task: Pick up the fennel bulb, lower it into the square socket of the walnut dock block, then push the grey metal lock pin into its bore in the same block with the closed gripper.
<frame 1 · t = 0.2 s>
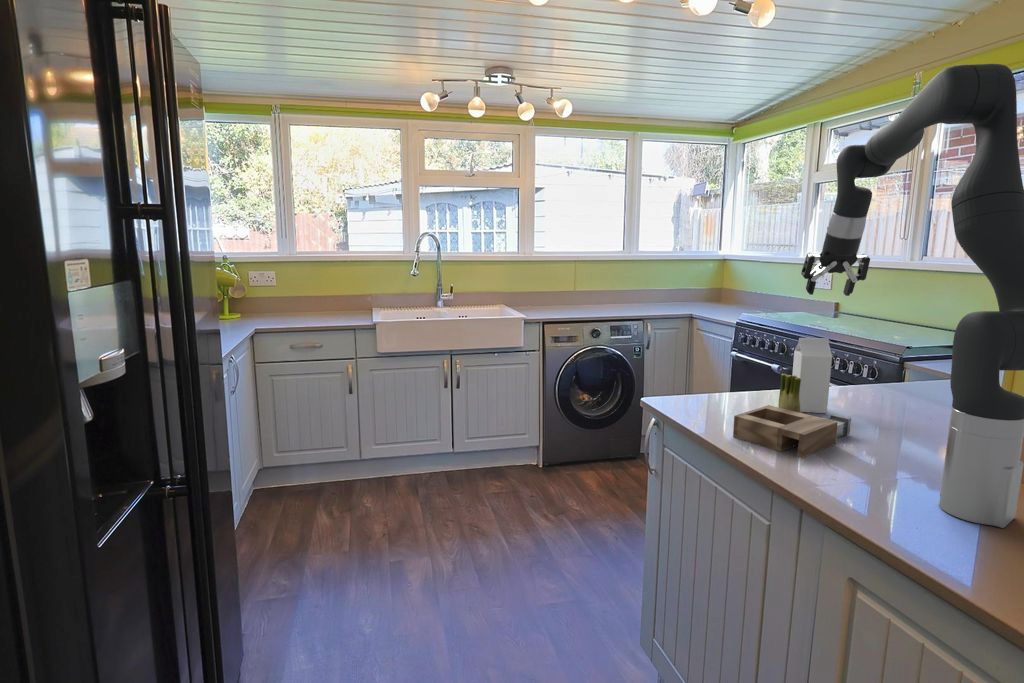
hand: (828, 294, 144), 31 cm above the counter, tool tilted 20°, fingers open, 8 cm apart
dock: (783, 440, 128), on the counter
lock pin: (827, 429, 128), point 2 cm above the counter, slide at 0.0 cm
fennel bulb: (788, 423, 140), on the counter
milk carton: (807, 409, 151), on the counter
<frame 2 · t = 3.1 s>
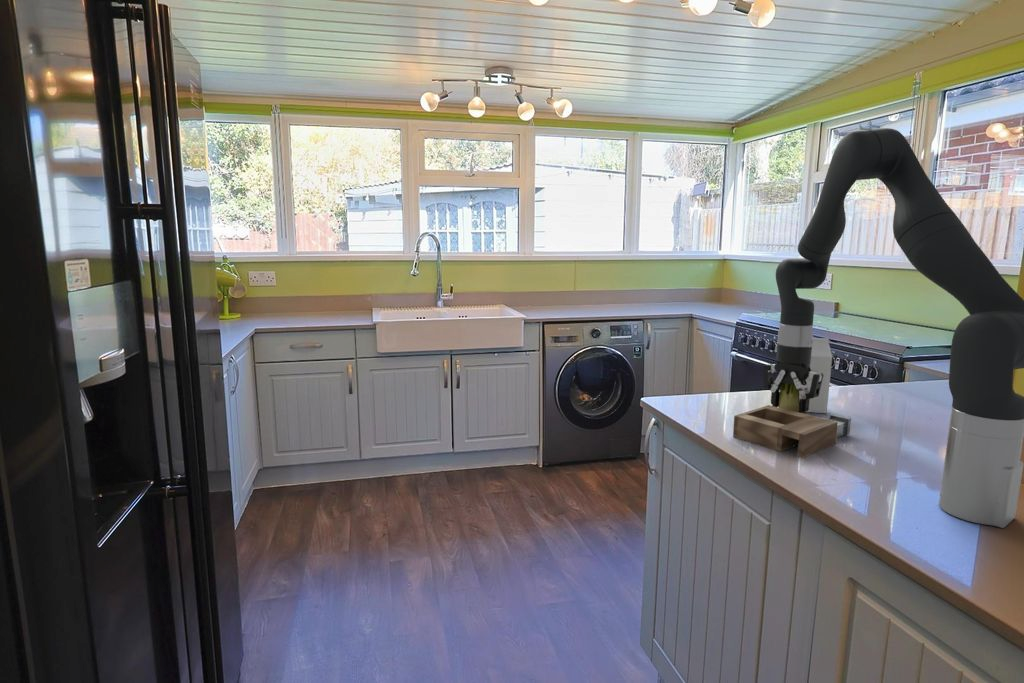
hand: (789, 409, 140), 3 cm above the counter, tool pointing down, fingers closed on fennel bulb, 6 cm apart
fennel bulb: (788, 423, 140), on the counter, touching gripper
everything else where it was.
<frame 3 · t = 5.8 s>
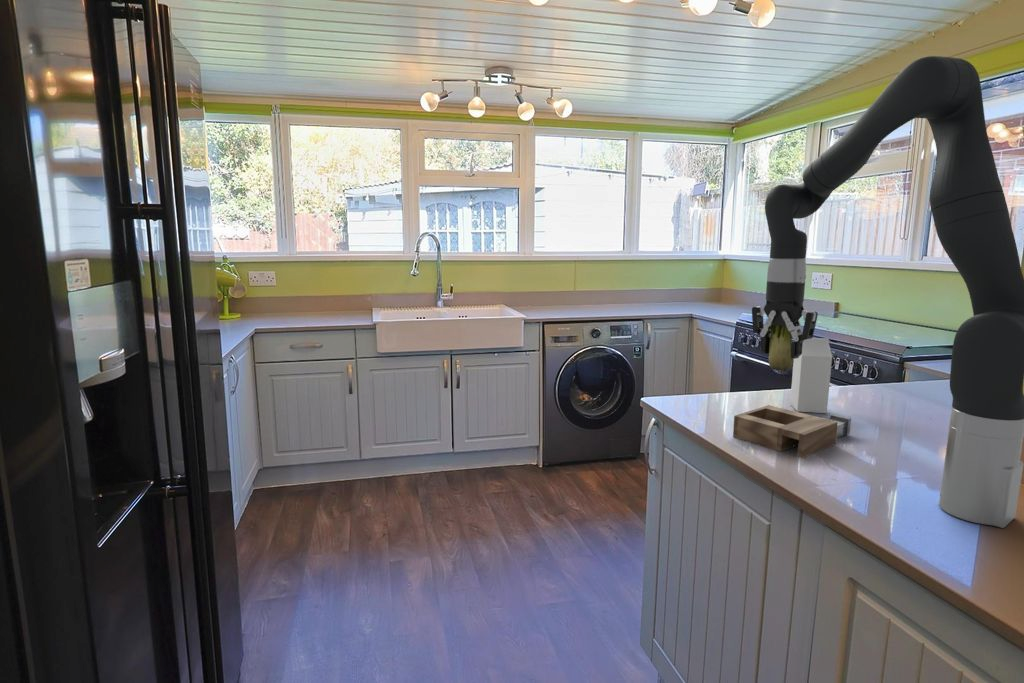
hand: (780, 355, 126), 19 cm above the counter, tool pointing down, fingers closed on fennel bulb, 6 cm apart
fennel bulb: (779, 370, 127), point 16 cm above the counter, touching gripper
everything else where it was.
when the fingers open (6 cm above the counter, at t = 8.7 s): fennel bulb drops 3 cm, resting in dock.
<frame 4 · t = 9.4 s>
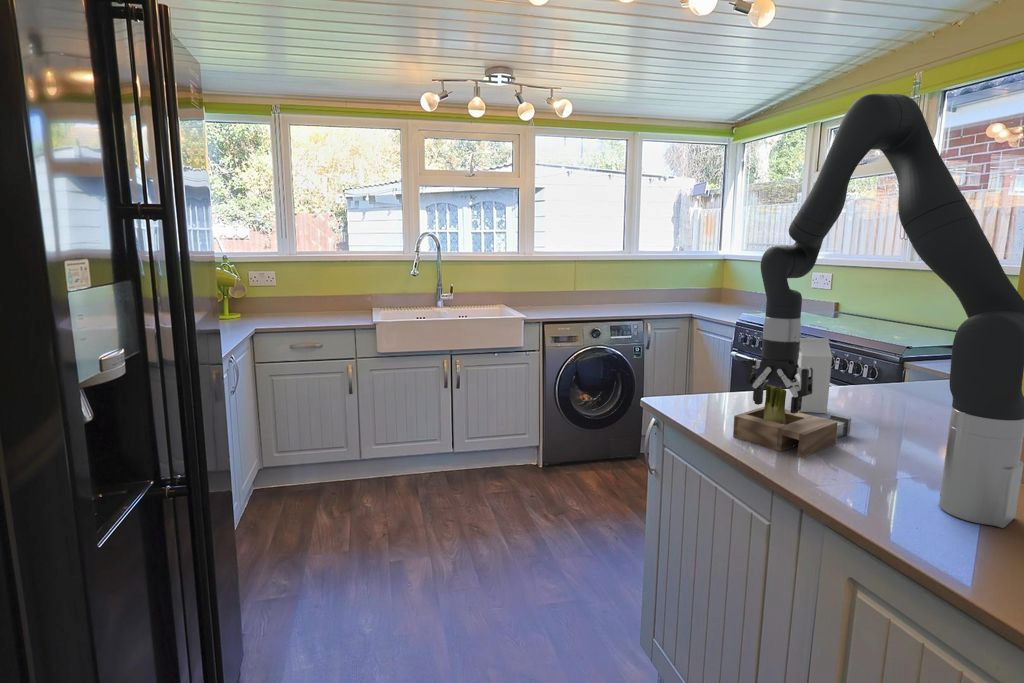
hand: (776, 408, 129), 7 cm above the counter, tool pointing down, fingers open, 8 cm apart
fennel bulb: (773, 438, 130), resting in dock
everything else where it was.
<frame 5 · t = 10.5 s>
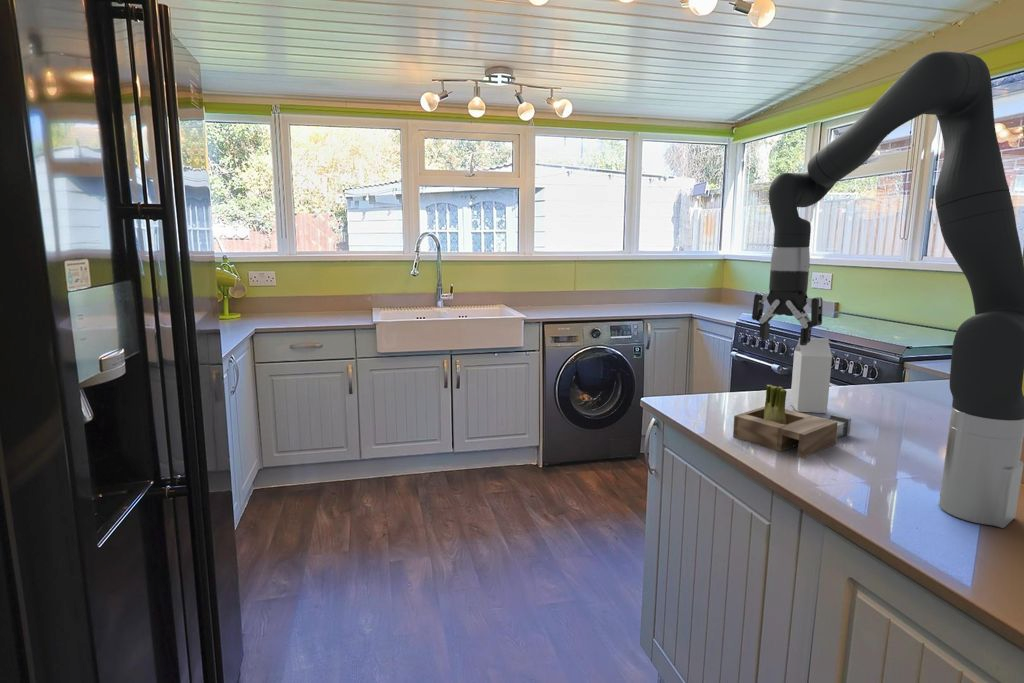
hand: (783, 342, 126), 22 cm above the counter, tool pointing down, fingers open, 8 cm apart
nothing on the counter moved.
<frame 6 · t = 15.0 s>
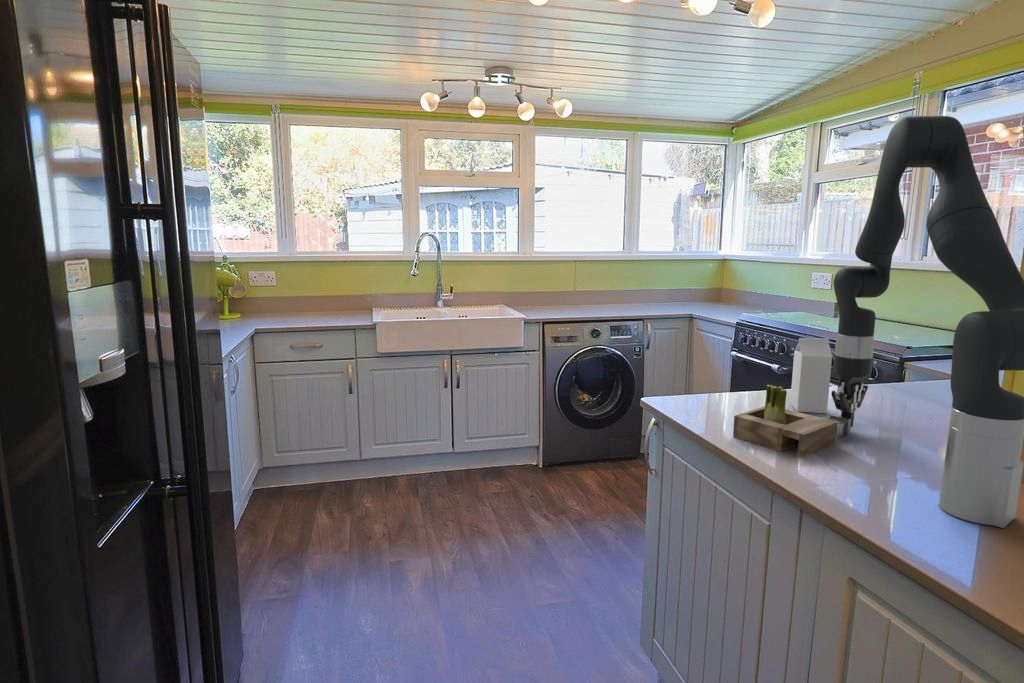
hand: (846, 426, 133), 1 cm above the counter, tool pointing down, fingers closed
lock pin: (826, 429, 128), point 2 cm above the counter, slide at 0.0 cm, touching gripper
everything else where it was.
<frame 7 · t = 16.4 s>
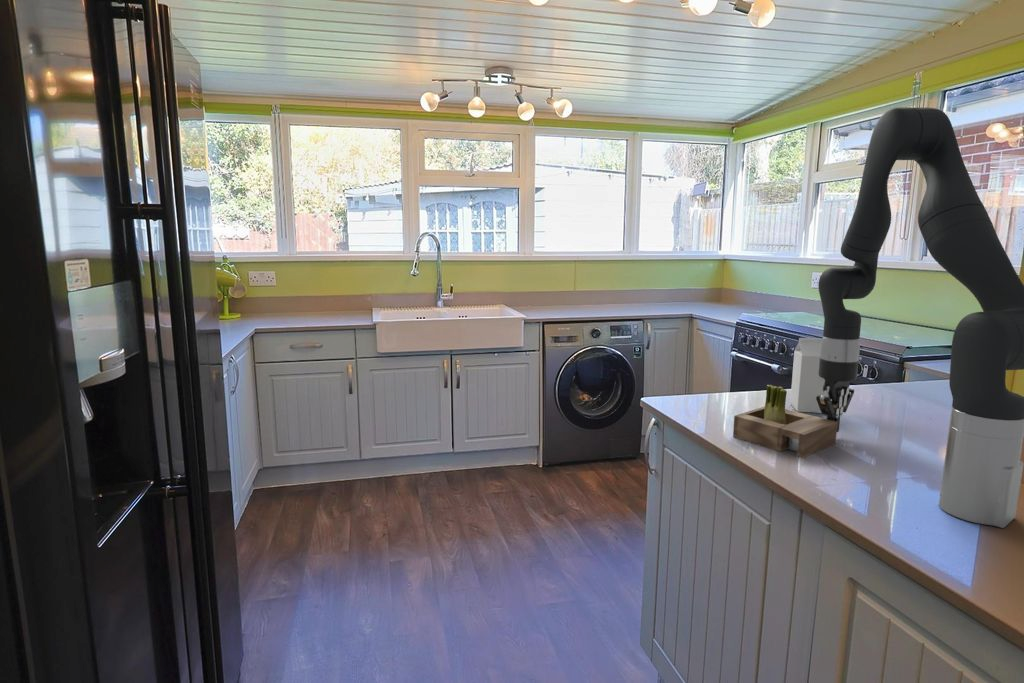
hand: (832, 432, 130), 1 cm above the counter, tool pointing down, fingers closed
lock pin: (811, 435, 125), point 2 cm above the counter, slide at 6.7 cm, touching gripper
everything else where it was.
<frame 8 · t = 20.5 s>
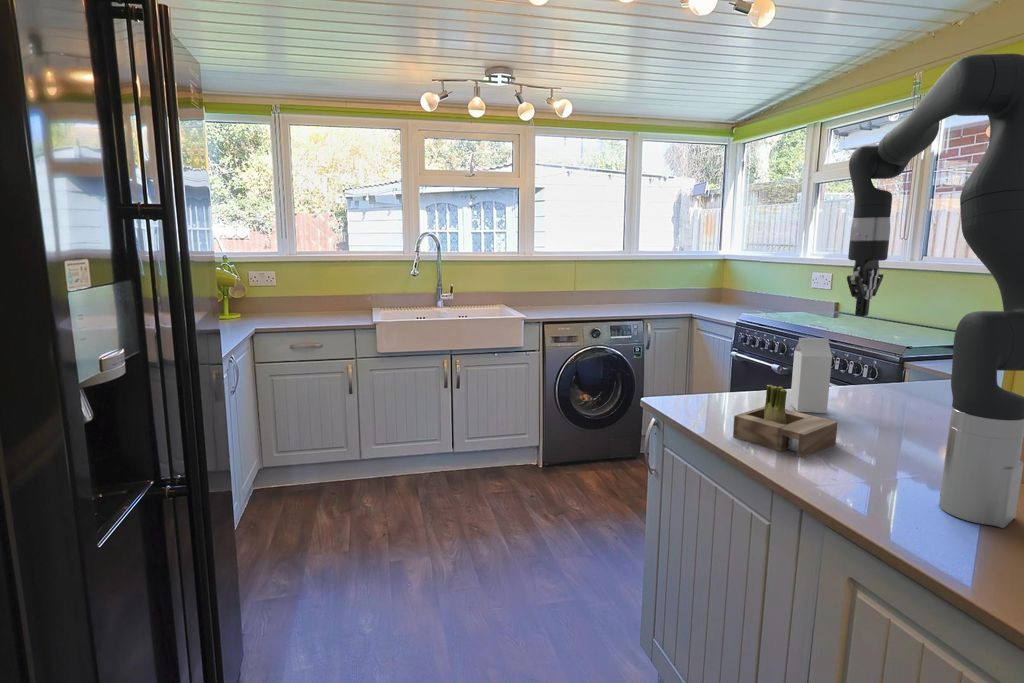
hand: (861, 315, 131), 27 cm above the counter, tool pointing down, fingers closed
lock pin: (811, 435, 124), point 2 cm above the counter, slide at 6.9 cm
everything else where it was.
at the end: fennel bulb inside the target area on the dock (0.0 cm from its centre), point 0.0 cm above the dock's base; lock pin slide at 6.9 cm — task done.
